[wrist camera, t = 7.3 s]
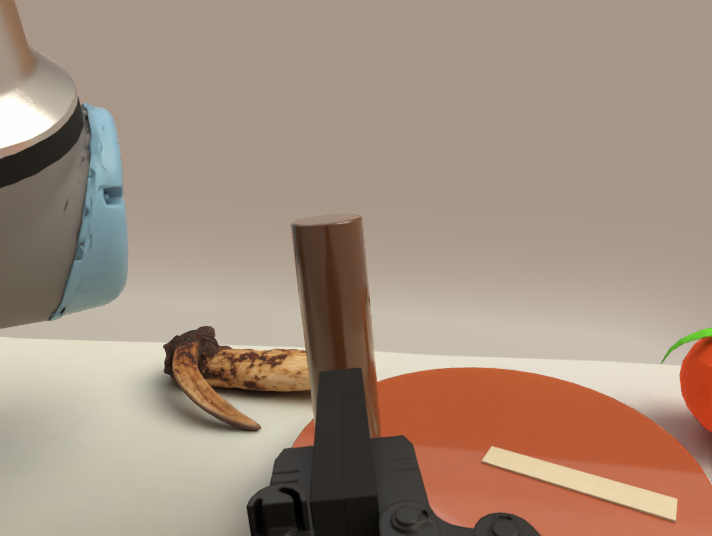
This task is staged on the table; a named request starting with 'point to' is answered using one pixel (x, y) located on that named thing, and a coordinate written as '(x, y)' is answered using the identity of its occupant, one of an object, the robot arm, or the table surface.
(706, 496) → the orange disc
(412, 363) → the table surface
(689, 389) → the clementine
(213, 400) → the lashed bone hook
